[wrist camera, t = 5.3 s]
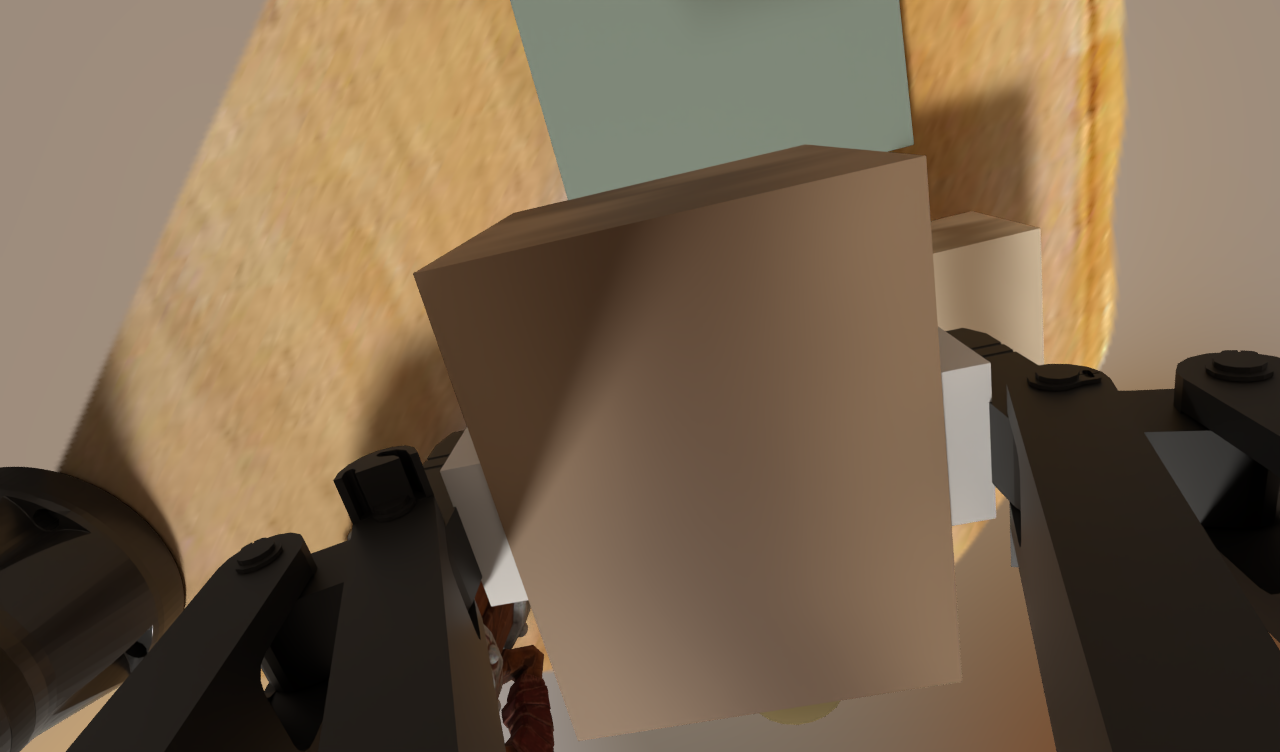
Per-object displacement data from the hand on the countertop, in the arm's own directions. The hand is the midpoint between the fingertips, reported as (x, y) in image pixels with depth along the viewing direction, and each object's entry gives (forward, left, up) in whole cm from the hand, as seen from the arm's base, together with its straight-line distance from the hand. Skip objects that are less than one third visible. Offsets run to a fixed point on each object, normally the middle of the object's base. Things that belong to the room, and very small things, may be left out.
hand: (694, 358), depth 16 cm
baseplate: (+4, +10, -18) cm, 20 cm away
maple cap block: (+12, -6, -18) cm, 22 cm away
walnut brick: (0, 0, 0) cm, 0 cm away
